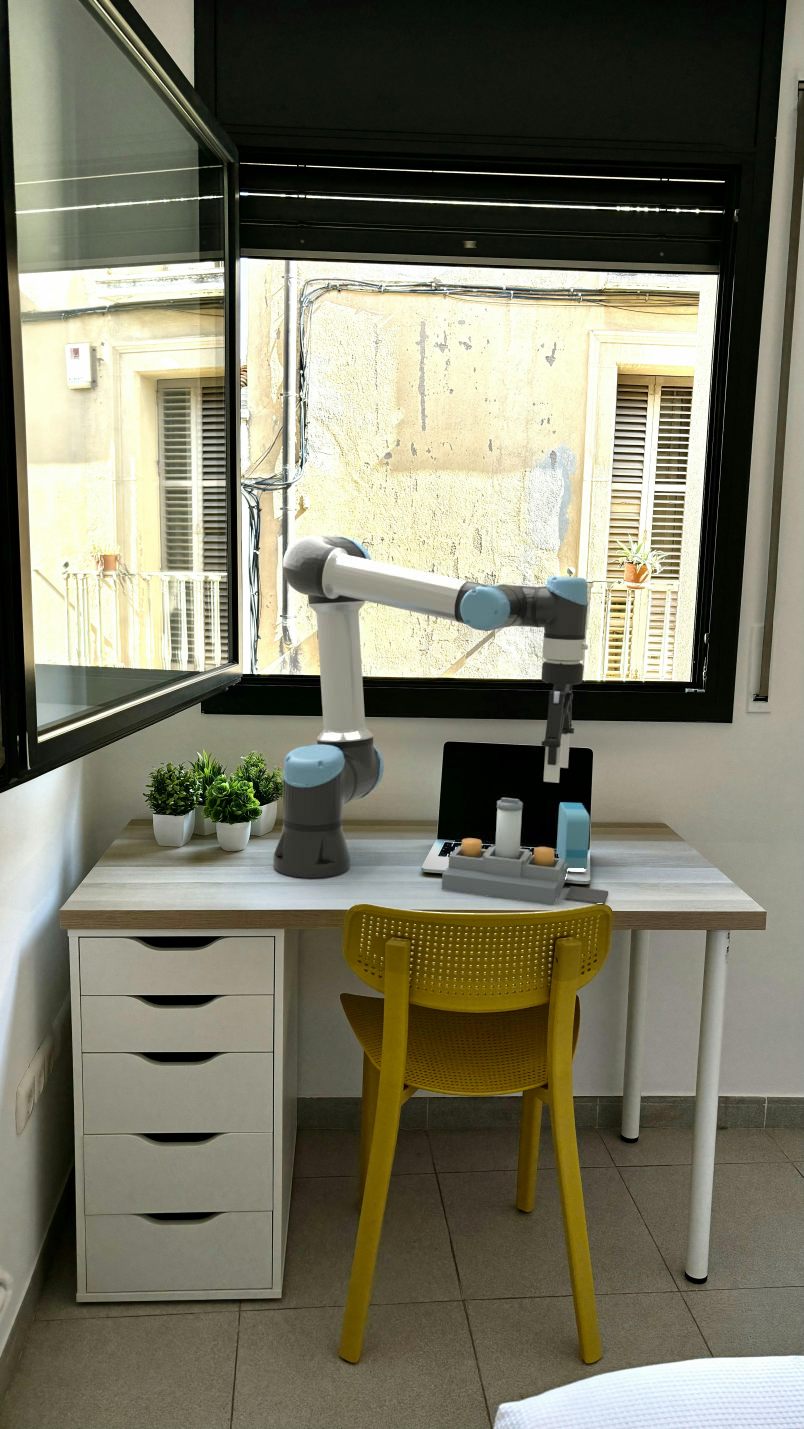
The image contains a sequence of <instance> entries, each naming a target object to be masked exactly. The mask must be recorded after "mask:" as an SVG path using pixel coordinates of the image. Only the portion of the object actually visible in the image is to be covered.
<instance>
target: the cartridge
mask: <svg viewBox="0 0 804 1429" xmlns="http://www.w3.org/2000/svg"><path fill="white" fill-rule="evenodd" d="M523 806H524V803H523V802H522V801H521V800H520V799H518V798H511V797H501V798H500V799H499V800H497V801H496V809H497V811H496V826H495V827H496V831H495V845H494V846H495V857H502V858H510V859H518V860H519V853H520V849H521V832H522V831H521V830H522V814H523Z"/></svg>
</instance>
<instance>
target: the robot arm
mask: <svg viewBox="0 0 804 1429" xmlns="http://www.w3.org/2000/svg"><path fill="white" fill-rule="evenodd" d="M282 570H283V575H284V577H285V580H286V582H287V583H288V584H289V586H290V587H291V588H292V589H293V590H295V591H296V592H298V593H299V594H302V595H306V596H307V600H308V607H309V608H310V609H312V611H314V613H315V614H316V624H317V625H316V626H317V640H318V643H317V644H318V655H319V656H318V657H319V674H320V690H321V691H320V692H321V706H322V720H323V723H322V725H323V730H322V731H321V733H320V734H319V735H318V736H317V737H316V744H311V745H310V744H309V745H307V746H306V745H303V746H300V747H296V748H293V749H292V750H291V751H289V752H288V753H287V754H286V755H285V757H284V761H283V770H282V779H283V780H282V781H283V784H282V787H283V788H282V790H283V791H282V792H283V793H282V794H283V795H282V800H283V801H282V803H283V804H282V830H281V833H280V835H279V839H278V841H277V844H276V847H275V849H274V850H275V851H274V853H273V863H272V865H273V869H274V870H275V871H277V872H278V873H281V874H283V875H286V876H290V877H296V878H297V877H298V878H306V879H309V878H310V879H311V878H312V879H313V878H314V879H316V878H320V879H321V878H329V877H333V876H338V875H341V874H343V873H346V872H347V871H348V870H349V869H350V867H351V854H350V851H349V848H348V843H347V841H346V837H345V833H344V830H343V811H344V810H343V808H344V807H343V806H344V805H346V804H349V803H350V802H352V801H356V800H359V799H362V798H365V797H366V796H367V795H369V794H370V793H371V792H373V791H374V790H375V789H377V787H378V786H379V784H380V782H381V781H382V778H383V776H384V770H385V768H384V767H385V765H384V760H383V755H382V753H381V751H380V750H378V749H377V747H376V745H375V744H374V735H373V733H372V732H371V731H370V730H369V729H368V728H367V727H366V719H365V717H366V716H365V703H364V702H365V701H364V686H363V685H364V683H363V682H364V681H363V669H362V667H363V664H362V652H361V632H360V616H359V615H360V614H359V613H360V610H361V608H363V606H364V605H365V604H366V602H368V603H373V604H378V605H382V606H387V607H391V608H395V609H400V610H404V611H408V612H412V613H416V614H422V615H425V616H426V615H427V616H429V617H430V616H431V617H434V618H438V619H443V620H448V621H452V622H455V623H456V622H457V623H461V624H464V625H467V626H468V627H470V628H471V629H474V630H476V631H484V632H491V631H494V630H497V629H505V628H509V627H523V628H524V627H530V628H543V631H544V632H543V642H542V655H541V656H542V659H543V660H545V661H543V662H542V663H541V681H542V682H543V683H546V684H552V685H553V688H552V690H550V692H548V702H549V703H548V708H547V710H548V712H547V719H546V725H545V726H546V727H545V737H544V740H542V741H541V747H544V748H545V749H544V750H545V751H544V764H543V765H544V768H543V769H544V770H543V782H544V783H545V782H546V783H558V784H559V783H560V773H561V772H560V770H561V768H563V769H569V756H570V754H569V753H570V742H571V739H570V738H571V734H574V733H575V728H573V724H572V707H573V706H572V705H573V703H572V702H573V698H574V697H573V696H574V694H573V692H572V691H573V686H574V685H580V684H582V683H583V679H584V664H583V663H582V661H583V660H584V657H585V650H588V649H589V646H588V644H584V643H585V642H586V630H587V628H586V627H587V616H588V606H589V600H588V598H589V597H588V594H589V593H588V590H589V589H588V586H589V585H588V584H589V583H588V581H587V580H586V579H585V578H583V577H579V576H578V577H575V576H573V577H572V576H549V577H548V578H547V580H546V584H545V586H544V585H543V586H528V585H514V584H513V585H512V584H505V583H504V584H501V583H499V584H488V585H487V584H483V583H479V582H474V581H468V580H464V579H458V578H454V577H449V576H445V575H441V574H437V573H433V572H428V571H422V570H418V569H414V568H409V567H403V566H399V565H395V564H392V563H391V564H390V563H385V562H381V561H377V560H376V561H375V560H372V557H371V555H370V554H369V552H368V551H367V549H366V548H365V546H363V545H362V544H361V543H360V542H358V541H357V540H354V539H351V538H348V537H344V536H323V535H322V536H321V535H306V536H303V537H300V538H298V539H296V540H295V541H294V542H292V543H290V546H289V547H288V548H287V550H285V553H284V556H283V559H282Z"/></svg>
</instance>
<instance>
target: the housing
mask: <svg viewBox="0 0 804 1429" xmlns="http://www.w3.org/2000/svg"><path fill="white" fill-rule="evenodd" d="M495 846H496V845H493V846H489V847H488V848H487V849H485V848H481V855H480V856H476V857H470V856H465V855H463V854H462V853H461V852H462V845H458V846H457V847H456V848H455V849H454V850H453V851H452V852H451V854H449V856H448V867H447V868H446V869H445V871H443V873H442V874H441V875H442V876H441V890H443V891H451V892H457V893H465V894H471V895H472V894H473V895H479V896H486V897H494V898H500V899H501V898H502V899H507V900H516V901H522V902H530V903H537V904H538V903H539V904H543V905H544V904H545V905H551V906H552V905H555V903H556V901H557V899H558V897H559V896H560V893H561V891H562V889H563V887H564V885H565V883H566V881H565V877H566V874H567V875H568V872H567V869H568V864H567V863H565V859H559V858H557V857H554V864H553V865H550V866H541V865H537V864H535V863H534V862H533V861H534V854H533V855H532V851H530V849H525V848H520V853H519V860H518V859H510V858H502V857H495Z"/></svg>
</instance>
